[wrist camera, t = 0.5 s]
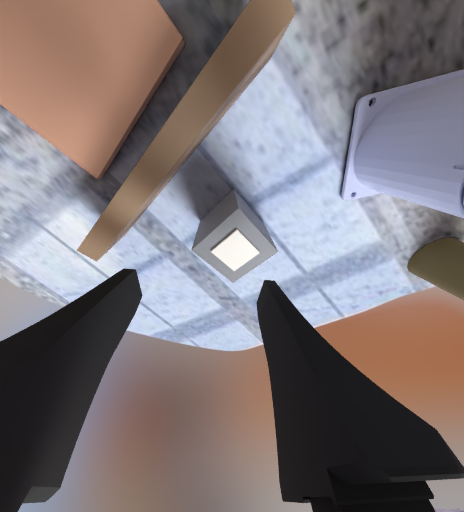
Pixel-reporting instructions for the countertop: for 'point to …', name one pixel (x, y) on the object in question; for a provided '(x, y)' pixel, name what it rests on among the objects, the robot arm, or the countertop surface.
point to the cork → (441, 265)
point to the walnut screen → (194, 117)
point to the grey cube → (233, 238)
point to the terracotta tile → (84, 70)
